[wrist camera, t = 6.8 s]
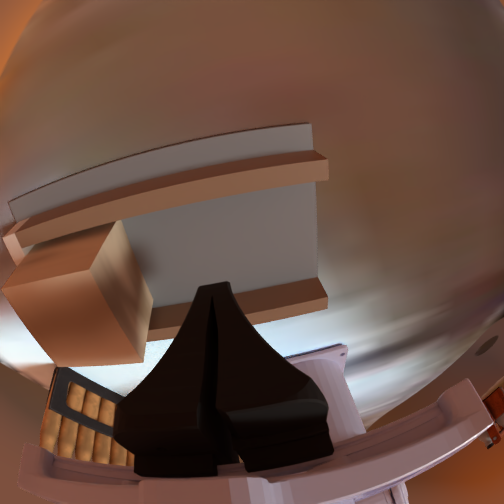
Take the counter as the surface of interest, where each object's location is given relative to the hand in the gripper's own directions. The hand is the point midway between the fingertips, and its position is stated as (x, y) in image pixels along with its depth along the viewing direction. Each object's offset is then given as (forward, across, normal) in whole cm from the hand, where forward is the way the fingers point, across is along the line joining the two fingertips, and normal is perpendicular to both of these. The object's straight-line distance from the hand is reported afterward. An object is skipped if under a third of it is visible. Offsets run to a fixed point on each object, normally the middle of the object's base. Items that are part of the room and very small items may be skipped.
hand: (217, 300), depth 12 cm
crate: (+4, +8, 0) cm, 9 cm away
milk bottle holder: (+6, -85, +94) cm, 127 cm away
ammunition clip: (+5, +15, +14) cm, 21 cm away
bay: (+5, +3, 0) cm, 6 cm away
